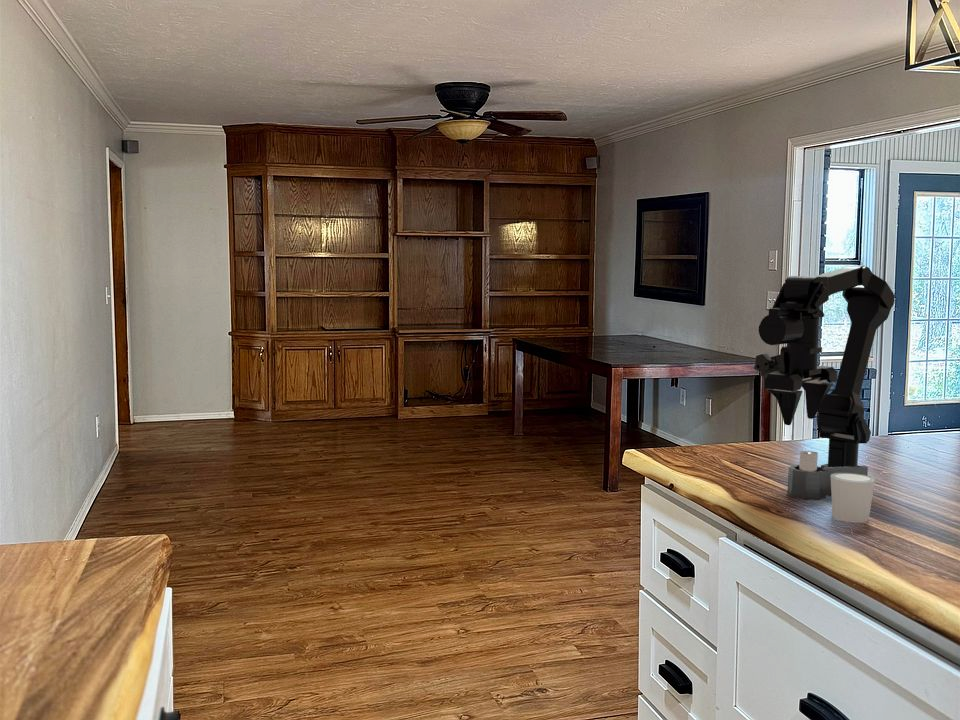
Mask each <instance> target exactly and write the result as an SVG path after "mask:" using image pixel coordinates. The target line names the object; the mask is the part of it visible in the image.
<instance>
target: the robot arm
mask: <svg viewBox="0 0 960 720" xmlns="http://www.w3.org/2000/svg"><path fill="white" fill-rule="evenodd" d="M841 292H842V294H841V295H842V297H843V298H844V301H846V302H847V304H846V305H847V306H846V312H847V314H848V317H849V321H850V323H851V324H850V328H849V332H848V336H847V339H846V343H845V347H844V350H843V351H844V352H843V354H842V358H841V363H840V366H839V370H838V371H837V370H836V369H835V367H833V366H827V365H826V366H825V365H824V366H823V365H818V354H820V353H823V347H822V346H819V328H820V325H819V323H820V318H824V317H825V313H824V312H823V311H822V309H820V308H819V307H820V306H822V305H824V304H825V303H827V302H828V301H829V299H830V298H829V297H830V296H831V295H834V294H837V293H838V294H839V293H841ZM894 304H895V294H894V291H893V290H892V288H891V287H890V285H889V284H888V283H887V281H885V280H884V279H882V278H881V277H880V276H877V275H876V274H874V273H873V272H872V270H871V268H870V267H868V266H866V265H845V266H843V267H840V268H837V269H835V270H832V271H828V272H824V273H822V274H818V275H815V276H811V275H809V276H806V275H803V276H802V275H792V276H791V275H790V276H788V277H787V278H786V279H785V280H784V282H783V284H782V286H781V288H780V290H779V292H778V294H777V296H776V299H775V301H774V303H773V306H772V307H770V308H769V309H768V315H766V316H764V317H763V318H762V320H761V321H760V323H759V325H758V334H759V338H760V339H761V341H763V343H764V344H766V345H768V346H777V345H784V346H781V348H780V353H779V354H777V355H773V356H770V355H769V354H768V353H766V352H765V353H761V354H757V355H756V356H755V361H754V366H753V368H754V370H756V371H757V372H759V374H760V377H762V388H763V389H766V391H767V393H770V394H772V395H773V396H774V398H775V399H776V400H777V404H778V406H779V411H780V413H781V414H780V415H781V417H782V421H783V424H784V425H785V426H792V423H793V420H794V418H795V415H796V412H797V408H798V406H799V402H800V401H801V397H802V394H803V391H804V394H805V406H806V409H805V410H806V416H807V419H810V420H813V419H815V416H816V425H817V431H818V437H819V438H822V439H828V454H827V463H825V464H820V467H844V466H859V465H858V464H859V463H858V460H859V444H868V443H869V442H870V438H871V434H872V432H871V431H872V430H871V429H870V427H869V425H868V423H867V422H866V419H865V418H864V414H865V406H864V404H863V401H862V397H861V391H862V386H863V384H864V379H865V375H866V371H867V367H868V364H869V360H870V355H871V353H872V348H873V343H874V339H875V336H876V332H877V329H878V328H879V327H881V326H882V325H883V323H885V321H887V319H888V318H889V316H890V313H891V309H892V308H893V306H894ZM834 382H835V387H834ZM832 387H834V389H832ZM801 388H803V390H801ZM831 389H832V391H830V390H831Z"/></svg>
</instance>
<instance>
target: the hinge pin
mask: <svg viewBox="0 0 960 720" xmlns="http://www.w3.org/2000/svg"><path fill="white" fill-rule="evenodd" d="M818 456H819V455H818V452H817V451H813V450H801V451H799V464H798V465H799V470H802V471H812V472H817V466H818Z"/></svg>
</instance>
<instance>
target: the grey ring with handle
mask: <svg viewBox="0 0 960 720" xmlns="http://www.w3.org/2000/svg"><path fill="white" fill-rule="evenodd" d="M868 471H869V467H868V466H866V465H858V466H844V467H821V466H818V465H817V472H812V471H802V470H799V464H794V465H790V466H788V477H787V494H788V495H789V496H790V497H792V498H795V499H800V500H806V501H807V500H809V501H821V500H823V499H826V498H827V496H831V474H834V473H855V474H862V475H866V476H868Z"/></svg>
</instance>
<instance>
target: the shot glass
mask: <svg viewBox="0 0 960 720" xmlns="http://www.w3.org/2000/svg"><path fill="white" fill-rule="evenodd" d="M875 482H876V479H875V477H872V476H869V475H867V476H866V475H862V474H855V473H834V474H831V495H830V496H831V514H832V518H833V519H835V520H837V521H841V522H844V521H845V522H846V523H851V522H852V523H853V524H863V523H867V522H869V521H870V520H869V519H870V515H871V507H872V501H873V494H874V489H875ZM852 523H851V524H852Z"/></svg>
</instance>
